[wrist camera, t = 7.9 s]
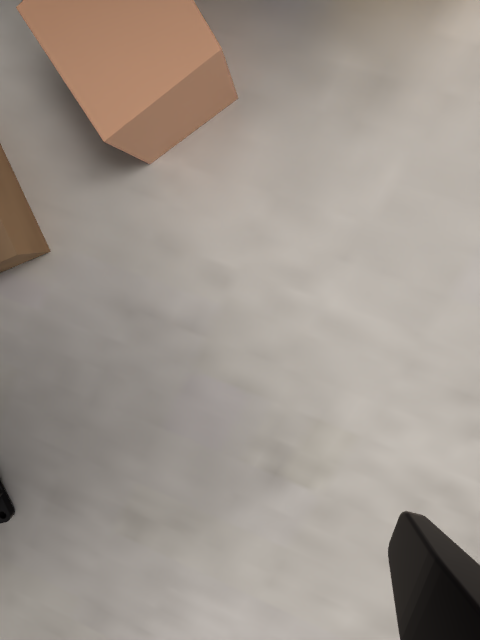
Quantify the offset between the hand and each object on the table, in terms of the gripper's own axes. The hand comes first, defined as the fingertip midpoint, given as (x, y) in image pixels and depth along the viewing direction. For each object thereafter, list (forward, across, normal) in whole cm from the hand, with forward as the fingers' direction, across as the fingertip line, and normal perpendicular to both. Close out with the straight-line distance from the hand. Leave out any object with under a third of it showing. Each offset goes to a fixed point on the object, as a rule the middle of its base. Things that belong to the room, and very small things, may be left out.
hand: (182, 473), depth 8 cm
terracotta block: (+12, +6, -10) cm, 17 cm away
